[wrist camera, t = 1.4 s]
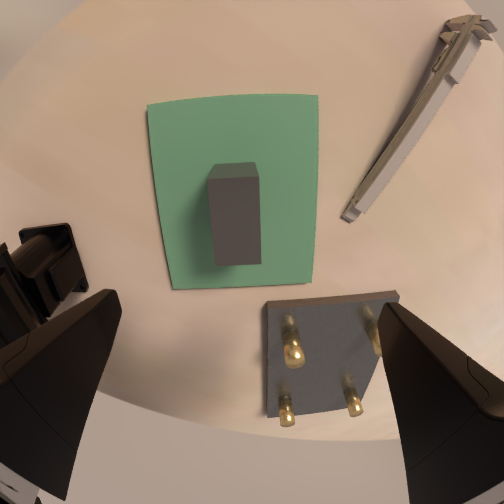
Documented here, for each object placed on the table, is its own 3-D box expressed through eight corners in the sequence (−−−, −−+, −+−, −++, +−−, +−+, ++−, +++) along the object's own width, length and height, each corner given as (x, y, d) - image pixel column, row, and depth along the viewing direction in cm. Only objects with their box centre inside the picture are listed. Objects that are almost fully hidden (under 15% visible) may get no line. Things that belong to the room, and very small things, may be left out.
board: (176, 280, 23) (161, 326, 18) (152, 105, 17) (120, 104, 12) (308, 274, 23) (325, 319, 18) (313, 96, 17) (341, 90, 12)
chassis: (266, 411, 32) (269, 437, 28) (267, 301, 24) (271, 334, 20) (357, 399, 32) (364, 423, 29) (395, 290, 24) (414, 317, 20)
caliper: (443, 20, 13) (491, 8, 7) (452, 28, 13) (500, 19, 7) (339, 215, 21) (372, 253, 15) (350, 221, 21) (385, 260, 15)
